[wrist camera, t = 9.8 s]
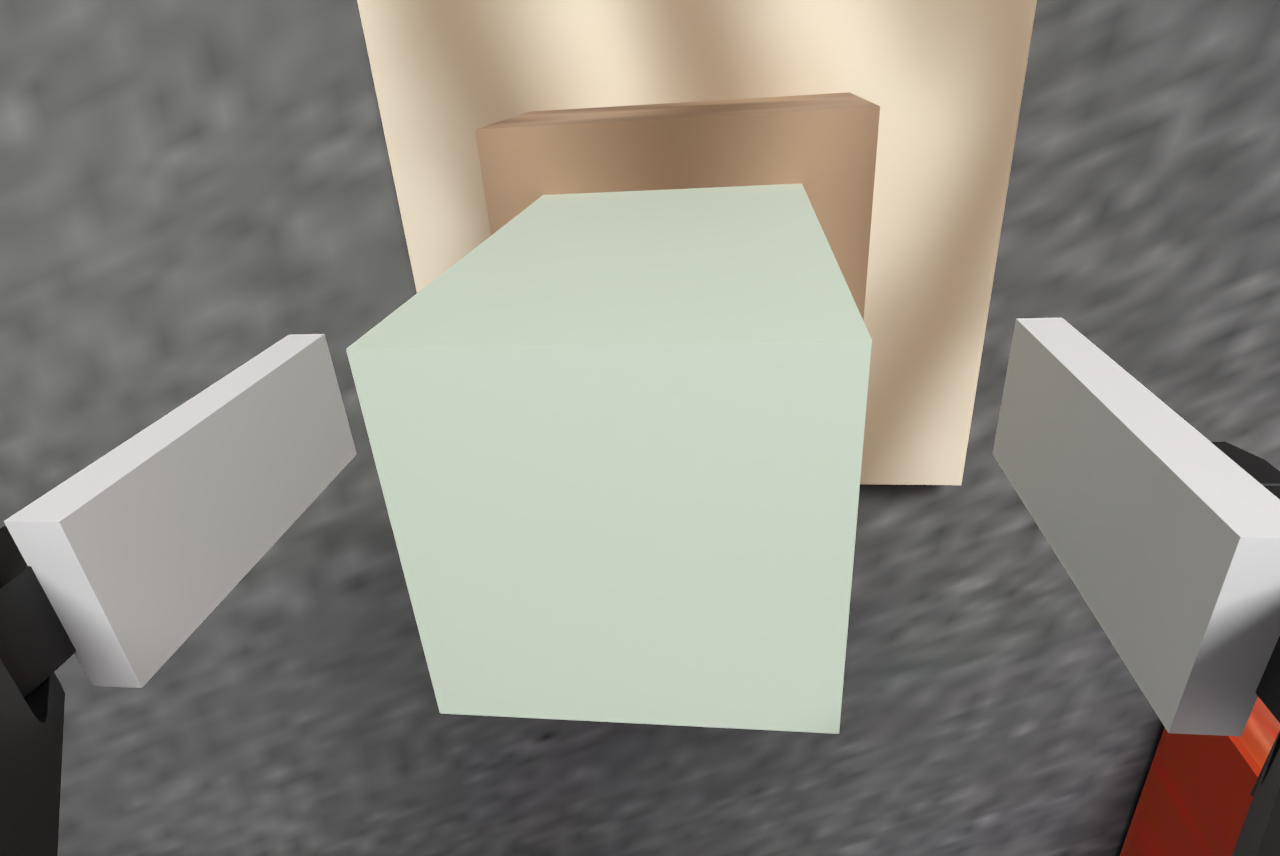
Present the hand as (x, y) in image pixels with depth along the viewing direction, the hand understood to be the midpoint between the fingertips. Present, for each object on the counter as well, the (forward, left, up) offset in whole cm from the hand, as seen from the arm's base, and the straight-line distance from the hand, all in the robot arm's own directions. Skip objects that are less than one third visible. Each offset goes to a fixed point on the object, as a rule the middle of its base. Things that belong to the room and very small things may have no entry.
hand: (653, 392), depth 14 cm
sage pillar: (0, 0, -5) cm, 5 cm away
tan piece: (0, 0, -11) cm, 11 cm away
